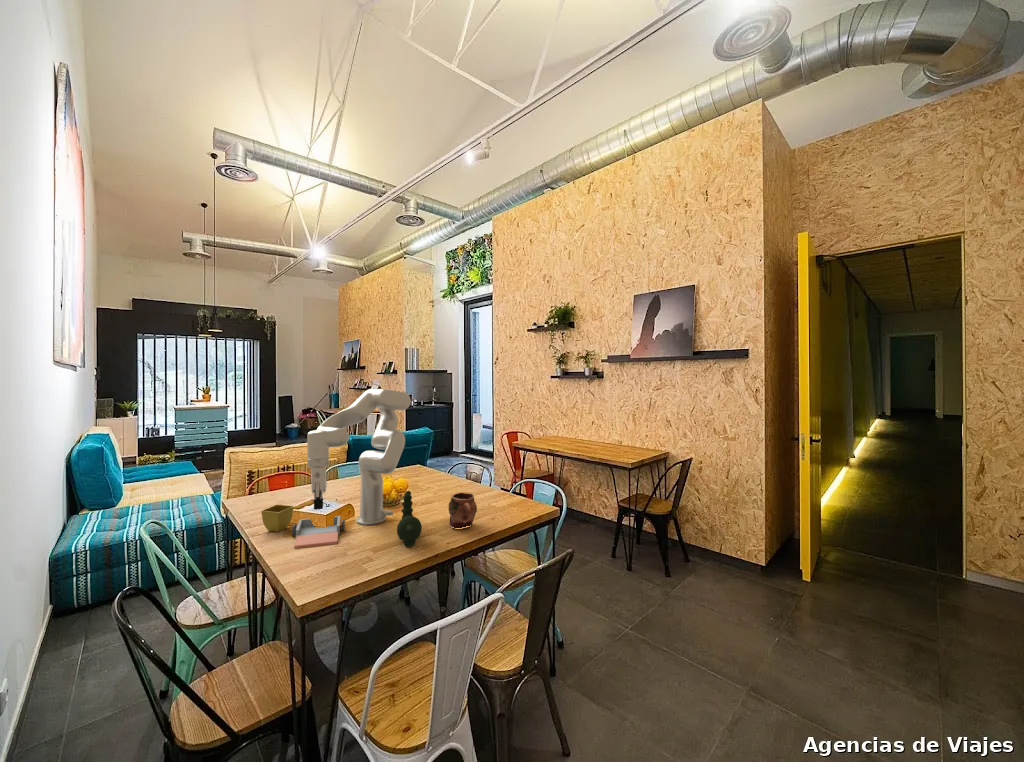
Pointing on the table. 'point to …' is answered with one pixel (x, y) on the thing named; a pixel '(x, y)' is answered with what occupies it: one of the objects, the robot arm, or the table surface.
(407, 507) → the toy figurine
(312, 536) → the panel
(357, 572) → the table surface
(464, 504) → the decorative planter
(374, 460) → the robot arm
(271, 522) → the flower pot
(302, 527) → the trailer
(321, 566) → the table surface
